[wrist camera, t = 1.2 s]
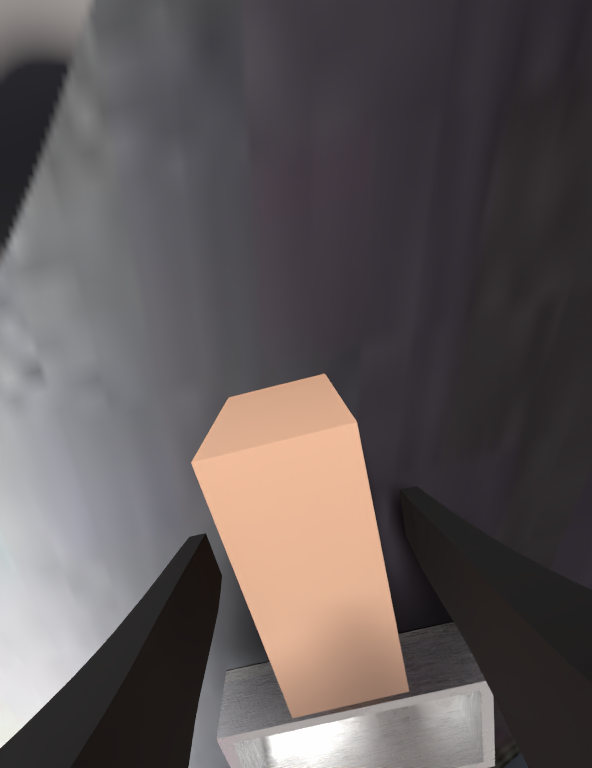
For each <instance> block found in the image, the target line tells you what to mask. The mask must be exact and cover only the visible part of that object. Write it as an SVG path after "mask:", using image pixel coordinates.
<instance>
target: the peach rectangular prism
mask: <svg viewBox="0 0 592 768" xmlns="http://www.w3.org/2000/svg"><path fill="white" fill-rule="evenodd" d="M191 464H192V466H193V469H194V471H195V474H196V476H197V479H198V481H199V484H200V486H201V489H202V491H203V494H204V496H205V499H206V501H207V504H208V506H209V509H210V511H211V514H212V516H213V519H214V522H215V524H216V527H217V529H218V532H219V534H220V537H221V539H222V542H223V544H224V547H225V549H226V552H227V554H228V557H229V559H230V562H231V564H232V567H233V569H234V572H235V575H236V577H237V580H238V582H239V585H240V587H241V590H242V592H243V595H244V597H245V600H246V602H247V605H248V607H249V610H250V612H251V615H252V617H253V620H254V622H255V625H256V628H257V630H258V633H259V635H260V638H261V640H262V643H263V645H264V648H265V650H266V653H267V655H268V658H269V660H270V663H271V665H272V668H273V670H274V673H275V675H276V678H277V680H278V683H279V686H280V688H281V691H282V693H283V696H284V698H285V701H286V703H287V706H288V708H289V711H290V713H291V716H292V718H296V717H301V716H305V715H309V714H314V713H318V712H322V711H327V710H331V709H335V708H340V707H344V706H348V705H353V704H357V703H361V702H366V701H370V700H374V699H378V698H383V697H387V696H391V695H396V694H400V693H404V692H409V687H408V682H407V677H406V672H405V667H404V662H403V656H402V651H401V646H400V641H399V636H398V631H397V626H396V621H395V615H394V610H393V605H392V600H391V595H390V590H389V585H388V579H387V574H386V569H385V564H384V559H383V554H382V549H381V544H380V538H379V533H378V528H377V523H376V518H375V513H374V508H373V503H372V497H371V492H370V487H369V482H368V477H367V472H366V467H365V461H364V456H363V451H362V446H361V441H360V436H359V431H358V426H357V422H356V420H355V419H354V417H353V416H352V414H351V413H350V411H349V410H348V408H347V407H346V405H345V403H344V402H343V400H342V399H341V397H340V396H339V394H338V393H337V391H336V390H335V388H334V387H333V385H332V384H331V382H330V381H329V379H328V378H327V376H326V375H325V374H322V375H318V376H314V377H310V378H306V379H302V380H298V381H294V382H290V383H285V384H281V385H277V386H273V387H269V388H265V389H261V390H257V391H253V392H249V393H245V394H241V395H237V396H233V397H229V398H228V399H227V401H226V403H225V405H224V406H223V408H222V410H221V412H220V413H219V415H218V417H217V419H216V420H215V422H214V424H213V426H212V427H211V429H210V431H209V433H208V434H207V436H206V438H205V440H204V441H203V443H202V445H201V447H200V448H199V450H198V452H197V454H196V455H195V457H194V459H193V461H192V462H191Z"/></svg>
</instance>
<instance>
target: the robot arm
mask: <svg viewBox="0 0 592 768" xmlns="http://www.w3.org/2000/svg"><path fill="white" fill-rule="evenodd" d="M400 495H401V503H402V510H403V518H404V526H405V534H406V537H407V539H408V541H409V543H410V545H411V548H412V550H413V552H414V554H415V556H416V558H417V560H418V562H419V564H420V566H421V568H422V570H423V571H424V573H425V575H426V576H427V578H428V580H429V582H430V583H431V585H432V587H433V588H434V590H435V592H436V593H437V595H438V597H439V598H440V600H441V602H442V603H443V605H444V607H445V608H446V610H447V612H448V613H449V615H450V617H451V618H452V620H453V622H454V624H455V625H456V627H457V629H458V630H459V632H460V634H461V635H462V637H463V639H464V640H465V642H466V644H467V646H468V648H469V649H470V651H471V653H472V655H473V657H474V658H475V660H476V662H477V664H478V666H479V668H480V670H481V672H482V674H483V676H484V678H485V680H486V682H487V684H488V686H489V688H490V690H491V692H492V694H493V696H494V698H495V700H496V702H497V704H498V706H499V708H500V710H501V712H502V714H503V716H504V718H505V720H506V722H507V725H508V727H509V729H510V731H511V733H512V735H513V737H514V739H515V741H516V743H517V745H518V747H519V749H520V751H521V753H522V755H523V757H524V759H525V761H526V763H527V765H528V768H592V590H590V589H588V588H586V587H584V586H582V585H580V584H578V583H575V582H573V581H571V580H569V579H567V578H565V577H563V576H561V575H559V574H557V573H555V572H553V571H551V570H549V569H547V568H546V567H544V566H542V565H540V564H538V563H536V562H534V561H532V560H530V559H529V558H527V557H525V556H523V555H521V554H519V553H518V552H516V551H514V550H512V549H510V548H509V547H507V546H505V545H504V544H502V543H500V542H499V541H497V540H495V539H494V538H492V537H490V536H489V535H487V534H486V533H484V532H482V531H481V530H479V529H478V528H476V527H475V526H473V525H472V524H470V523H469V522H467V521H466V520H464V519H463V518H461V517H460V516H458V515H457V514H455V513H454V512H452V511H451V510H449V509H448V508H447V507H445V506H444V505H442V504H441V503H439V502H438V501H437V500H435V499H434V498H432V497H431V496H430V495H428V494H427V493H425V492H424V491H423V490H421V489H420V488H418V487H417V486H415V487H410V488H406V489H402V490H400ZM221 580H222V575H221V572H220V569H219V567H218V564H217V561H216V559H215V556H214V554H213V551H212V548H211V546H210V543H209V540H208V538H207V535H206V533H205V534H200V535H196V536H192V537H189V538H188V539H187V541H186V542H185V543H184V544H183V546H182V547H181V548H180V550H179V551H178V552H177V554H176V555H175V556H174V558H173V559H172V560H171V561H170V563H169V564H168V565H167V567H166V568H165V569H164V571H163V572H162V573H161V575H160V576H159V577H158V578H157V580H156V581H155V582H154V584H153V585H152V586H151V587H150V589H149V590H148V591H147V593H146V594H145V595H144V596H143V598H142V599H141V600H140V601H139V603H138V604H137V605H136V606H135V607H134V609H133V610H132V611H131V612H130V613H129V615H128V616H127V617H126V618H125V619H124V621H123V622H122V623H121V624H120V625H119V627H118V628H117V629H116V630H115V632H114V633H113V634H112V635H111V636H110V637H109V638H108V640H107V641H106V642H105V643H104V644H103V645H102V646H101V647H100V649H99V650H98V651H97V652H96V653H95V654H94V655H93V656H92V657H91V658H90V659H89V661H88V662H87V663H86V664H85V665H84V666H83V667H82V668H81V669H80V670H79V671H78V672H77V673H76V675H75V676H74V677H73V678H72V679H71V680H70V681H69V682H68V683H67V684H66V685H65V686H64V687H63V688H62V689H61V690H60V691H59V692H58V693H57V694H56V695H55V696H54V697H53V698H52V699H51V700H50V701H49V702H48V703H47V704H46V705H45V706H44V707H43V708H42V709H41V710H40V711H39V712H38V713H37V714H36V715H35V716H34V717H33V718H32V719H31V720H30V721H29V722H28V723H27V724H26V725H25V726H24V727H23V728H22V729H21V730H19V731H18V732H17V733H16V734H15V735H14V736H13V737H12V738H11V739H10V740H9V741H8V742H7V743H6V744H5V745H4V746H2V747H1V748H0V768H188V766H189V759H190V752H191V746H192V739H193V732H194V725H195V718H196V713H197V708H198V702H199V697H200V692H201V688H202V683H203V679H204V674H205V670H206V665H207V660H208V656H209V651H210V647H211V642H212V637H213V633H214V628H215V623H216V619H217V614H218V608H219V600H220V591H221Z"/></svg>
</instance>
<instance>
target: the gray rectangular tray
mask: <svg viewBox="0 0 592 768" xmlns="http://www.w3.org/2000/svg"><path fill="white" fill-rule="evenodd" d="M398 636H399V641H400V646H401V651H402V656H403V662H404V667H405V672H406V677H407V682H408V687H409V692H404V693H400V694H396V695H391V696H387V697H383V698H378V699H374V700H370V701H366V702H361V703H357V704H353V705H348V706H344V707H340V708H335V709H331V710H327V711H322V712H318V713H314V714H309V715H305V716H301V717H296V718H292V716H291V713H290V711H289V708H288V706H287V703H286V701H285V698H284V696H283V693H282V691H281V688H280V686H279V683H278V680H277V678H276V675H275V673H274V670H273V668H272V665H271V663H270V662H267V663H262V664H257V665H253V666H248V667H244V668H239V669H234V670H230V671H226V678H225V685H224V692H223V698H222V705H221V712H220V719H219V725H218V732H217V741H218V743H219V745H220V747H221V749H222V751H223V753H224V755H225V757H226V759H227V761H228V763H229V765H230V767H231V768H488V767H493V766H495V745H494V704H493V694H492V692H491V690H490V688H489V686H488V684H487V682H486V680H485V678H484V676H483V674H482V672H481V670H480V668H479V666H478V664H477V662H476V660H475V658H474V657H473V655H472V653H471V651H470V649H469V648H468V646H467V644H466V642H465V640H464V639H463V637H462V635H461V634H460V632H459V630H458V629H457V627H456V625H455V624H454V622H451V623H446V624H442V625H437V626H433V627H428V628H423V629H419V630H414V631H409V632H405V633H400V634H398Z"/></svg>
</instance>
